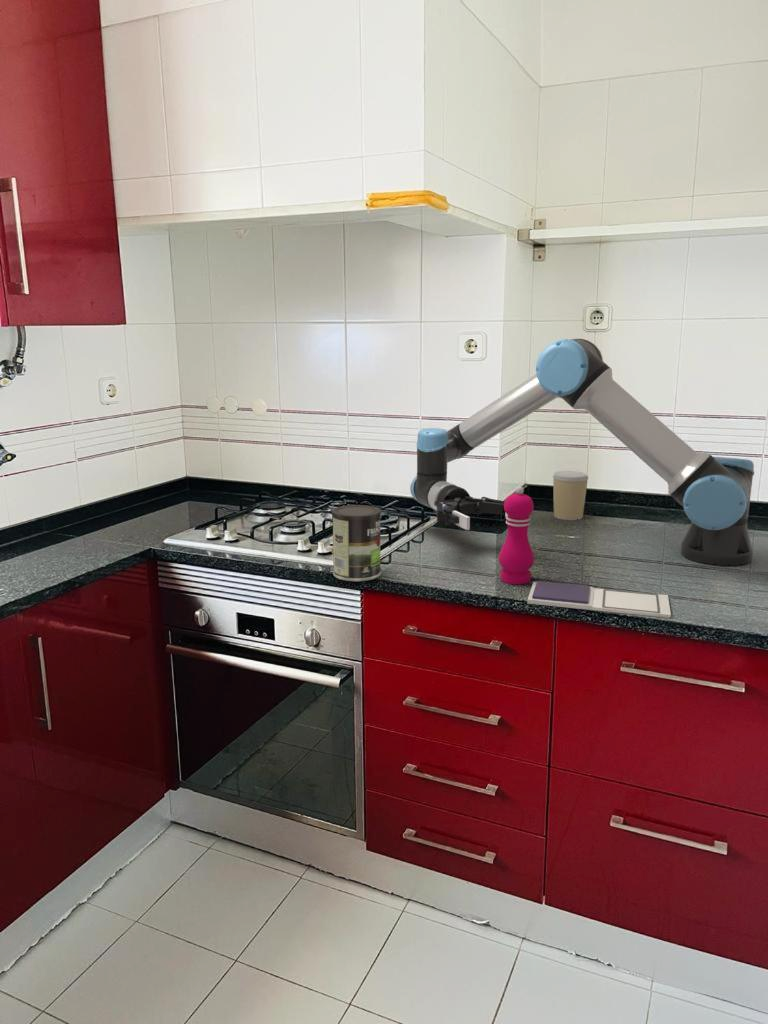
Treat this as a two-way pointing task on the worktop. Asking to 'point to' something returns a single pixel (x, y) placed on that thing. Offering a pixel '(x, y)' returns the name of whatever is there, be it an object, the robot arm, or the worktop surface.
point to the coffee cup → (569, 494)
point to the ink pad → (561, 595)
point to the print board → (631, 602)
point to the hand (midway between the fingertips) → (496, 520)
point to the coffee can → (356, 542)
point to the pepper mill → (517, 539)
